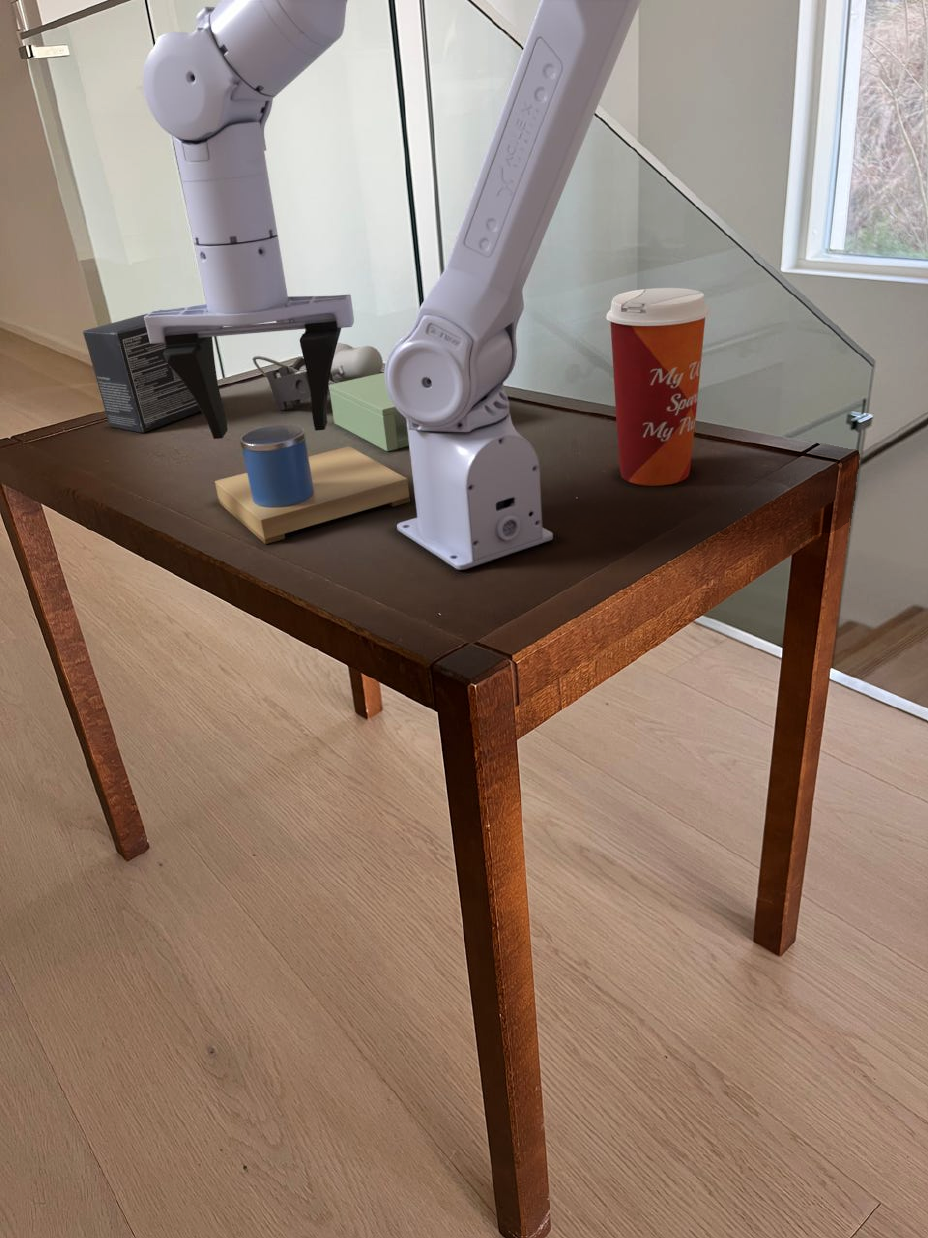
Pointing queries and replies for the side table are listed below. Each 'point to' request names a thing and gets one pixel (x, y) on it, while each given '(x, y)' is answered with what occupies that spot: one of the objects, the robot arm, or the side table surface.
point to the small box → (136, 377)
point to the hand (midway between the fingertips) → (271, 430)
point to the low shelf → (318, 494)
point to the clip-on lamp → (344, 368)
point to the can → (277, 465)
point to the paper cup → (656, 380)
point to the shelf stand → (369, 412)
